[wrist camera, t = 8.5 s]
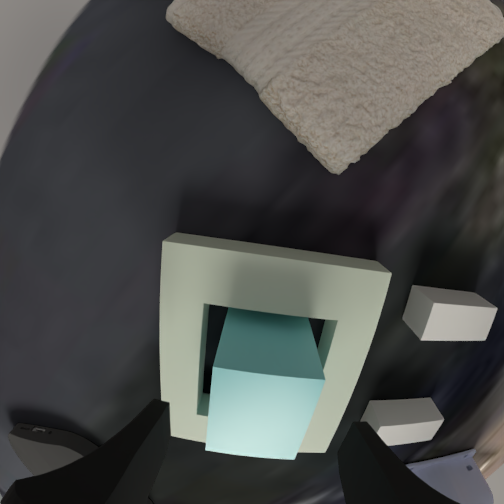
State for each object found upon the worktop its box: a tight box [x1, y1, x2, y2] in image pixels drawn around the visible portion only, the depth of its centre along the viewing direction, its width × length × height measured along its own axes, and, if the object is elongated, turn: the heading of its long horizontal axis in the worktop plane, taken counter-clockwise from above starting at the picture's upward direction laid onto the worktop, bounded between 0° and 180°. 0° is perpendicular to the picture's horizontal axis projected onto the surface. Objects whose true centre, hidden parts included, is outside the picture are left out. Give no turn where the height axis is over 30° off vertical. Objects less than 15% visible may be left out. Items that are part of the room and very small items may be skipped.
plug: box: [205, 307, 325, 460], centre depth 13 cm, size 4×5×6 cm
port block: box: [160, 232, 392, 453], centre depth 15 cm, size 10×12×2 cm
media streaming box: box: [8, 423, 153, 504], centre depth 20 cm, size 15×15×3 cm
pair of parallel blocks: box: [360, 285, 498, 446], centre depth 14 cm, size 5×10×2 cm, turn 172°
